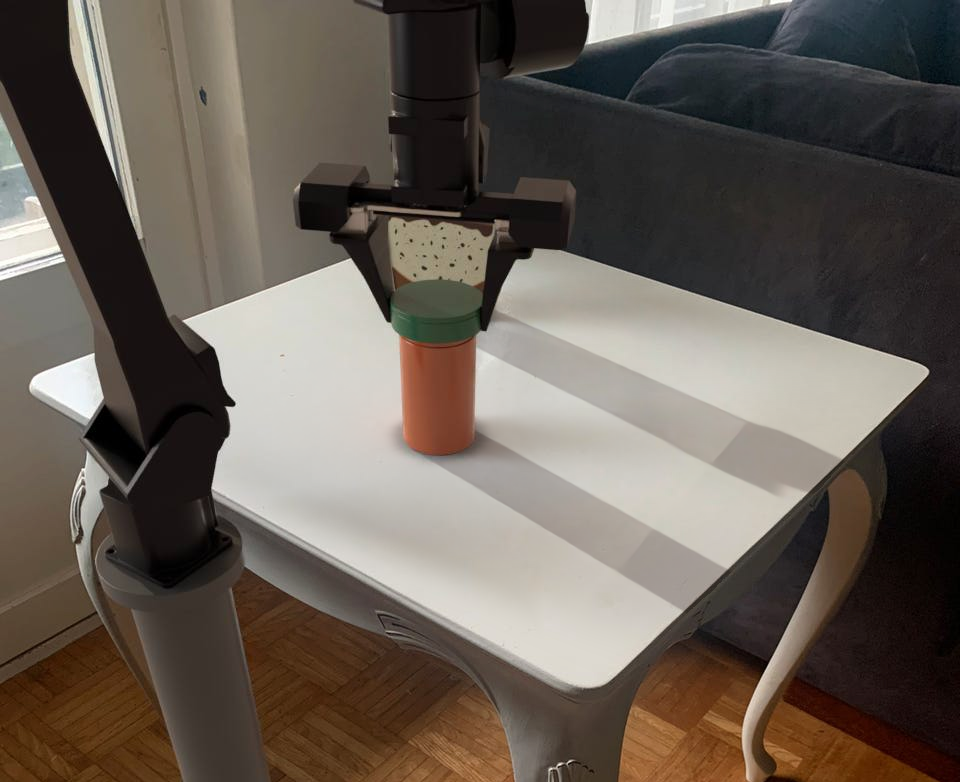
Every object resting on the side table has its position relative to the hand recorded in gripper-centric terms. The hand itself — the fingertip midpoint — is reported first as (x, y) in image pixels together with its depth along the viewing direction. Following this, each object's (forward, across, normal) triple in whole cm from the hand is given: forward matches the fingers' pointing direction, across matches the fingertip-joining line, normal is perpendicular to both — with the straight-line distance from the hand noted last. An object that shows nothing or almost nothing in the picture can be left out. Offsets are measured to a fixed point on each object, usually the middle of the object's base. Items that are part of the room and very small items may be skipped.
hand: (438, 324), depth 71 cm
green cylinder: (-2, 0, 0) cm, 2 cm away
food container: (+10, +4, -26) cm, 28 cm away
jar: (+9, 0, 0) cm, 9 cm away
